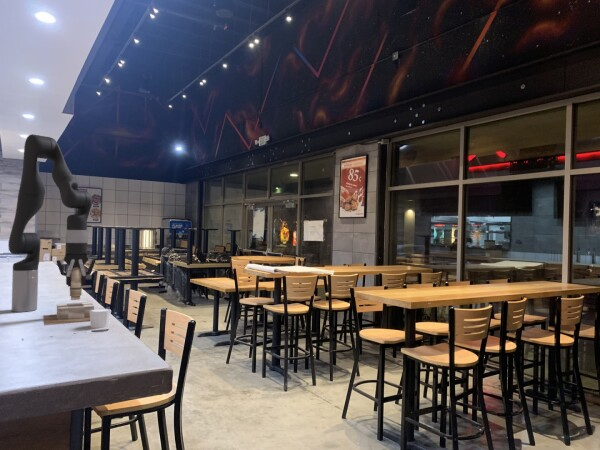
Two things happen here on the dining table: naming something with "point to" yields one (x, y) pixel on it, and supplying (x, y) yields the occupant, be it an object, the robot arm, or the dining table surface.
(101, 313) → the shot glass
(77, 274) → the peg
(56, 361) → the dining table surface
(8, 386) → the dining table surface
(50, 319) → the socket board
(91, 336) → the dining table surface
